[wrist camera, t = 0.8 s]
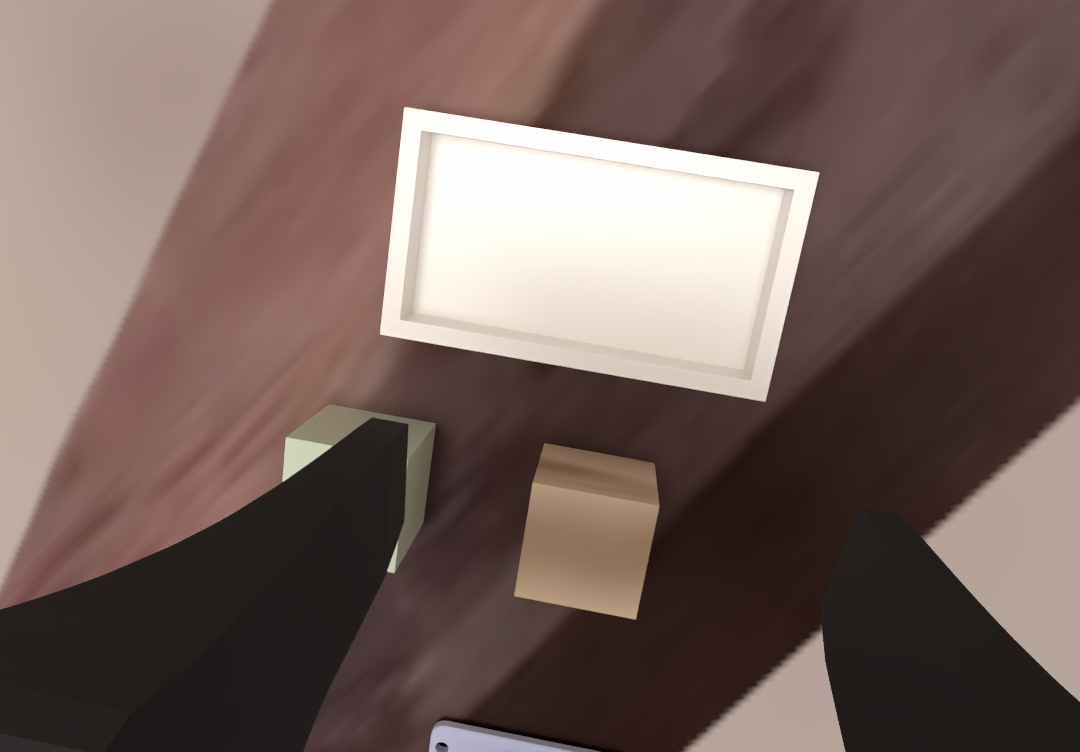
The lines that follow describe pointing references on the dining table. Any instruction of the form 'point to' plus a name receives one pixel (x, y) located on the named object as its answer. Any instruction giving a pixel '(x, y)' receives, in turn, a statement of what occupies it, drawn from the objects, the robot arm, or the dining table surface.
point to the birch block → (588, 531)
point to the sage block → (342, 422)
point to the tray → (593, 252)
